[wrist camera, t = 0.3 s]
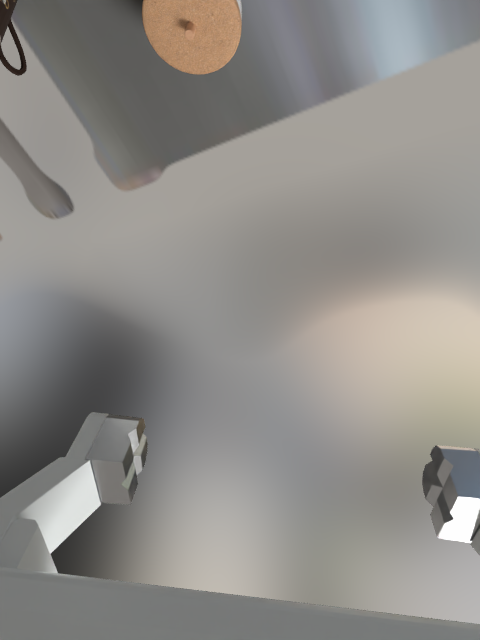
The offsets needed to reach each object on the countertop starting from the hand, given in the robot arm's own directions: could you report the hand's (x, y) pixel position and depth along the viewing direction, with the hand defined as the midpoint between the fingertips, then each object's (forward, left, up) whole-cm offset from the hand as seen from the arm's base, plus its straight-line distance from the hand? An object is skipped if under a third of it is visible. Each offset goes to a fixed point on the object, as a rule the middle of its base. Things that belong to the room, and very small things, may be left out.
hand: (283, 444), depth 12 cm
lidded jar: (+5, -16, -54) cm, 57 cm away
